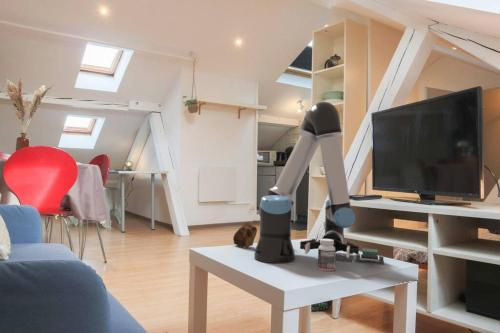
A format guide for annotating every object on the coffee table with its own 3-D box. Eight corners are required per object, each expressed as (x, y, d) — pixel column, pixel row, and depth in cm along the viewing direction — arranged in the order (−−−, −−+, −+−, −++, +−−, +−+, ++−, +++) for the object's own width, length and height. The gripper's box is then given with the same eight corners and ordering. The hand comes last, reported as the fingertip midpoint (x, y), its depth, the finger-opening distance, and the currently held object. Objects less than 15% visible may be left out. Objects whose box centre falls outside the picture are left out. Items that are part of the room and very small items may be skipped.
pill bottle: (319, 266, 131) (320, 237, 131) (336, 268, 128) (336, 239, 129) (316, 270, 125) (316, 240, 126) (333, 272, 123) (333, 241, 123)
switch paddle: (361, 258, 141) (360, 251, 131) (361, 254, 142) (361, 247, 131) (378, 259, 139) (379, 253, 129) (378, 256, 140) (379, 248, 130)
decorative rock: (257, 248, 161) (258, 223, 161) (246, 249, 157) (247, 223, 157) (241, 244, 170) (242, 220, 170) (230, 245, 166) (231, 220, 167)
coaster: (325, 259, 142) (325, 258, 142) (327, 254, 151) (327, 253, 151) (352, 262, 139) (352, 261, 139) (353, 257, 148) (353, 256, 148)
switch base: (355, 262, 139) (355, 255, 139) (355, 259, 143) (355, 253, 143) (383, 264, 136) (384, 257, 136) (383, 262, 140) (383, 255, 140)
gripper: (365, 254, 141) (365, 266, 120) (299, 248, 148) (289, 259, 128) (366, 234, 141) (366, 243, 121) (300, 229, 148) (289, 237, 128)
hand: (326, 251), depth 124 cm, fingers open, 13 cm apart
